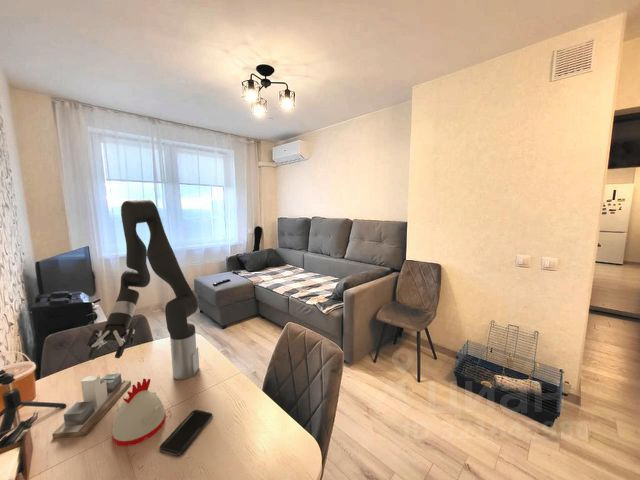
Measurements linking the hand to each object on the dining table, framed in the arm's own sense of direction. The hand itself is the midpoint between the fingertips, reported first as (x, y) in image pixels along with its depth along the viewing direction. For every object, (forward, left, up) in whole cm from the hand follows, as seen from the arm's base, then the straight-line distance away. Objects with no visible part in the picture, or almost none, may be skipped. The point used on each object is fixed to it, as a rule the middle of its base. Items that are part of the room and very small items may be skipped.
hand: (104, 358), depth 94 cm
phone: (-35, +19, -15) cm, 43 cm away
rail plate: (0, +6, -15) cm, 16 cm away
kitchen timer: (-19, +15, -15) cm, 29 cm away
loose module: (0, +6, -13) cm, 14 cm away
